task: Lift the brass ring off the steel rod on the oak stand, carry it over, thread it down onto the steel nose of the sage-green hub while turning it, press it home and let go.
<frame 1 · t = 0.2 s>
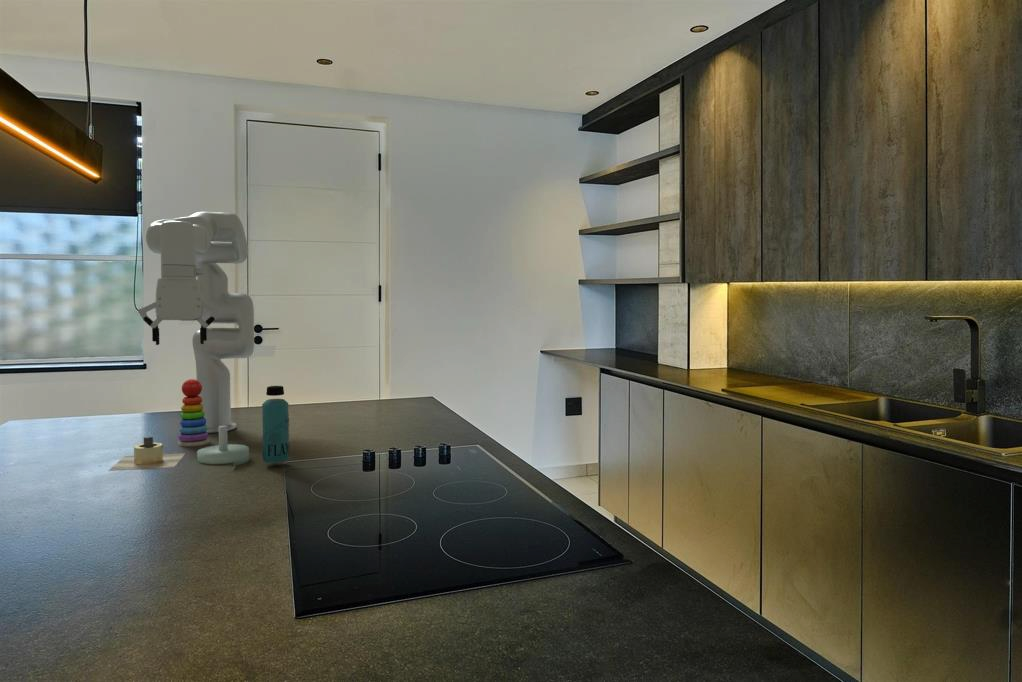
hand: (180, 344, 158), 30 cm above the table, fingers open, 9 cm apart
beverage bottle: (276, 466, 163), on the table
brass ring: (148, 461, 161), point 1 cm above the table, touching oak stand
oak stand: (148, 465, 161), on the table
sage hub: (223, 461, 166), on the table
stacking toy: (194, 447, 181), on the table
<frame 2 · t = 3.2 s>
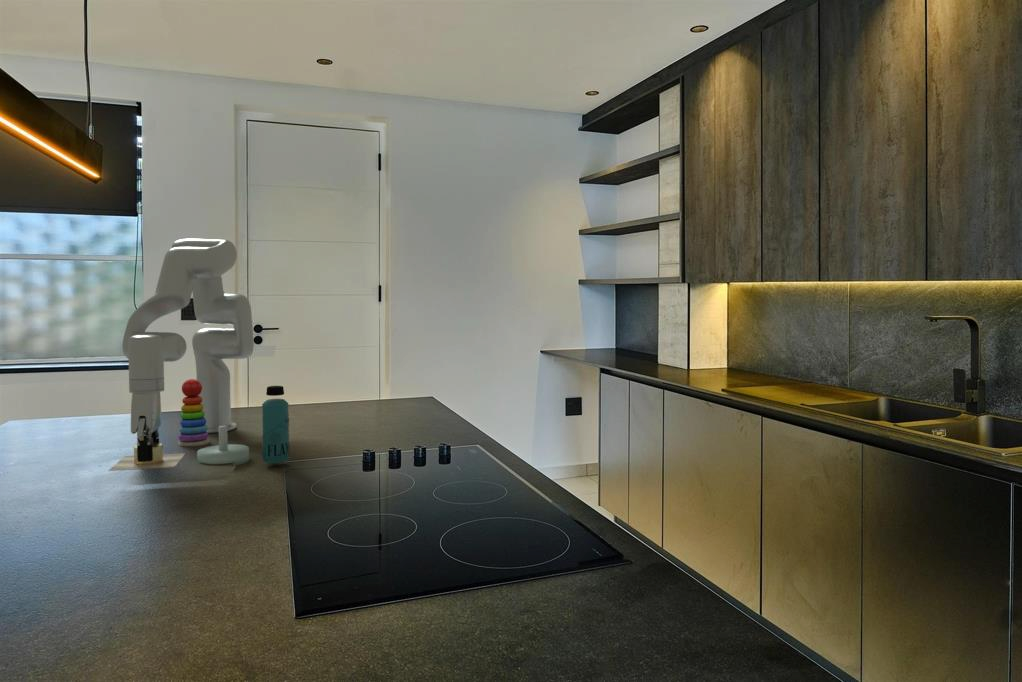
hand: (148, 457, 161), 2 cm above the table, fingers closed on brass ring, 6 cm apart
brass ring: (148, 461, 161), point 1 cm above the table, touching gripper, oak stand
everything else where it was.
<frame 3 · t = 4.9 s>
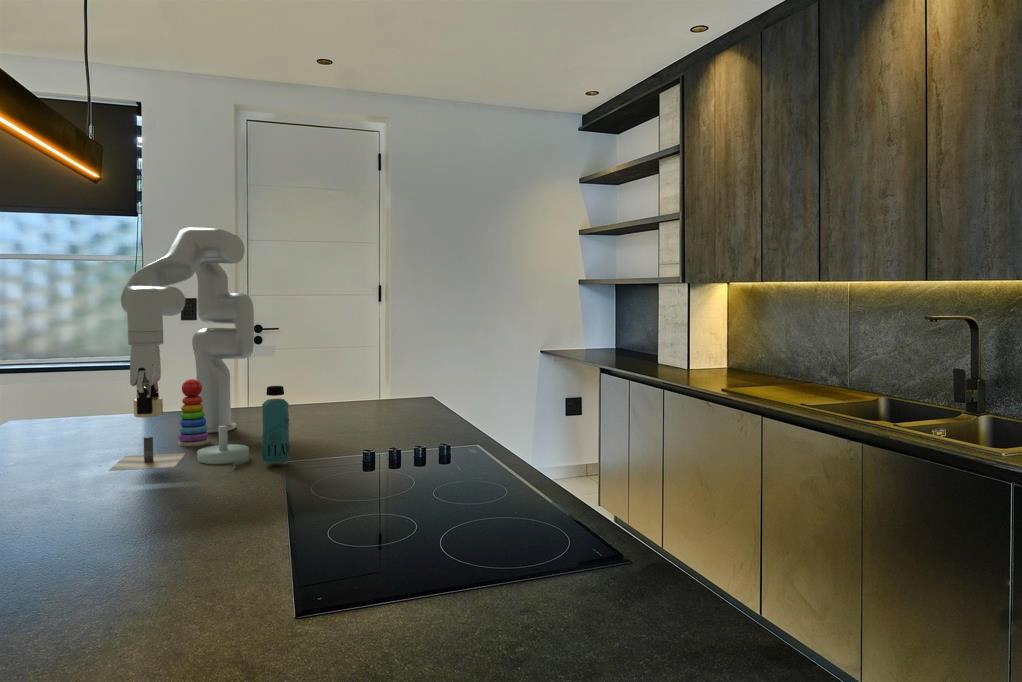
hand: (148, 410, 161), 14 cm above the table, fingers closed on brass ring, 6 cm apart
brass ring: (148, 414, 161), point 13 cm above the table, touching gripper
everything else where it was.
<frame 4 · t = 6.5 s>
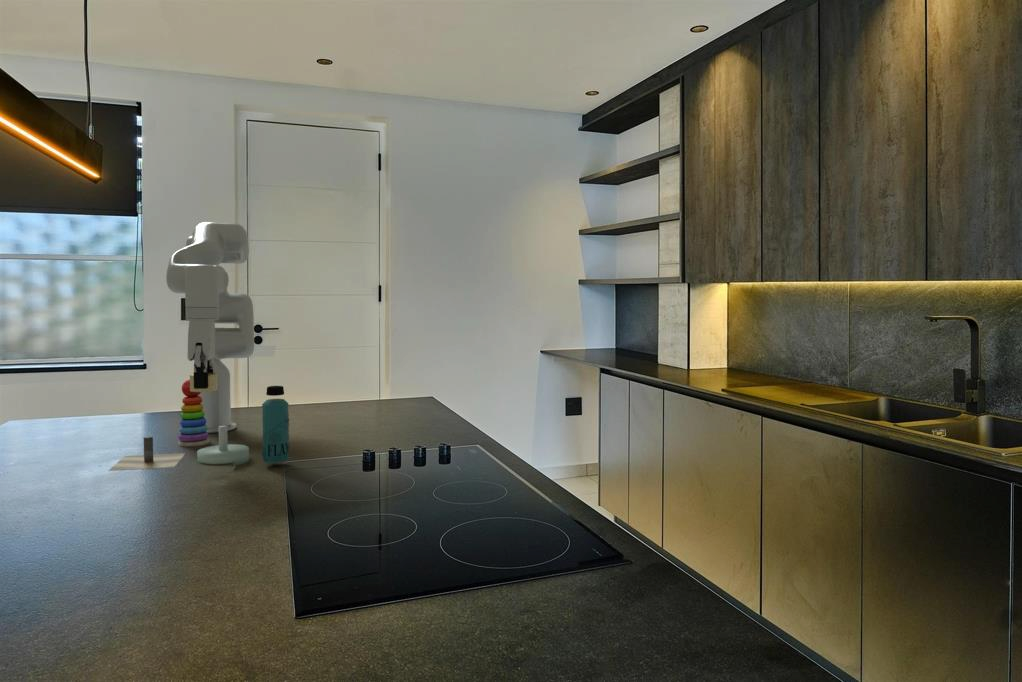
hand: (203, 385, 164), 20 cm above the table, fingers closed on brass ring, 6 cm apart
brass ring: (203, 390, 164), point 18 cm above the table, touching gripper
everything else where it was.
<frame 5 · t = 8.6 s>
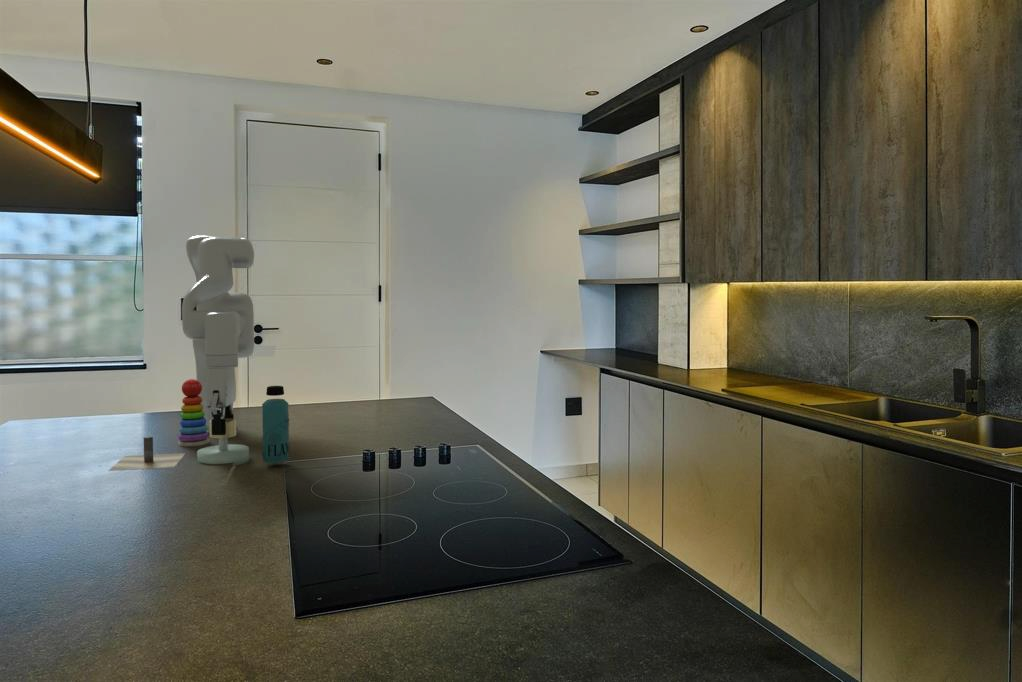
hand: (223, 431, 165), 8 cm above the table, fingers closed on brass ring, 6 cm apart
brass ring: (223, 435, 166), point 7 cm above the table, touching gripper
everything else where it was.
when the fingers open (4 cm above the table, at t = 10.1 s): brass ring stays where it is, resting on sage hub.
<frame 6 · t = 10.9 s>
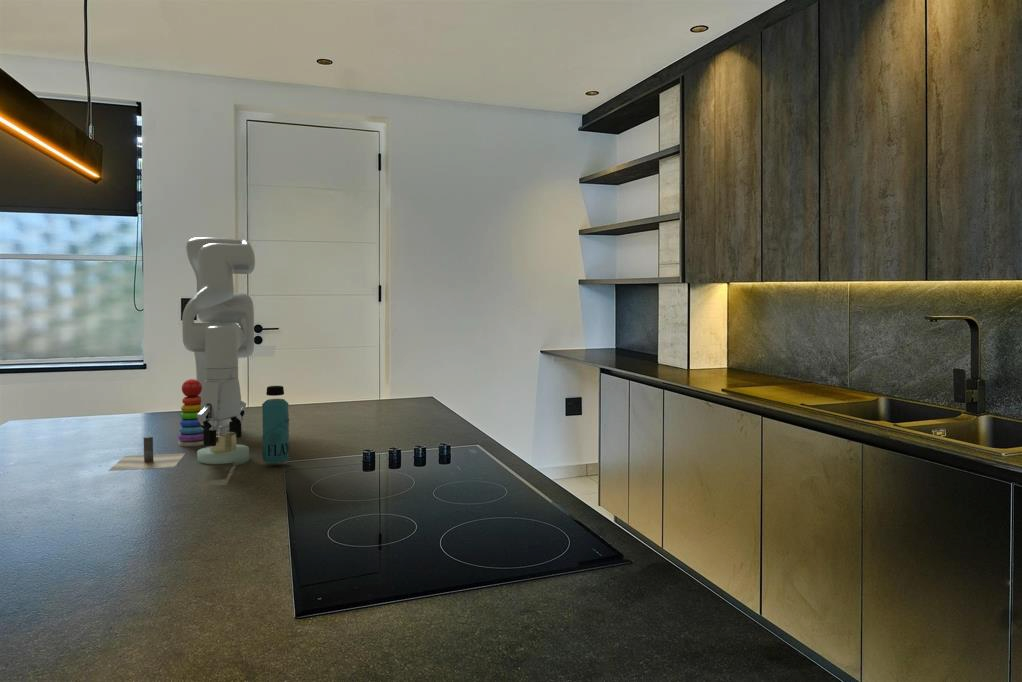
hand: (223, 441, 166), 5 cm above the table, fingers open, 9 cm apart
brass ring: (223, 449, 166), point 3 cm above the table, touching sage hub
everything else where it was.
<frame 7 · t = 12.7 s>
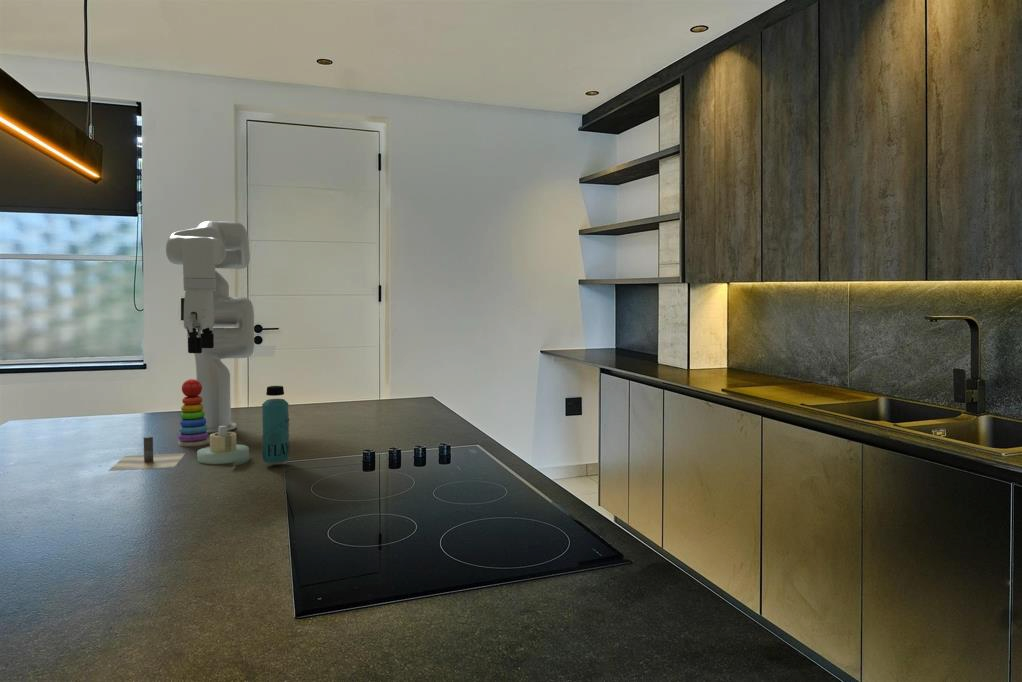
hand: (201, 350, 171), 28 cm above the table, fingers open, 9 cm apart
nothing on the table moved.
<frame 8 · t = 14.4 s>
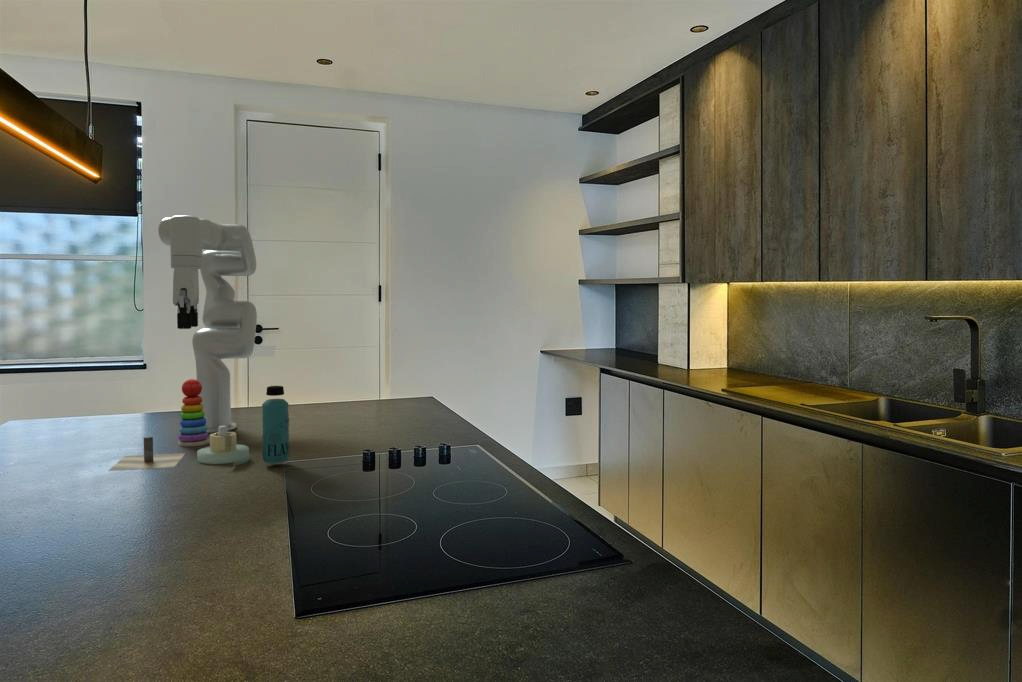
hand: (188, 327, 174), 33 cm above the table, fingers open, 9 cm apart
nothing on the table moved.
at the end: brass ring 0.1 cm off-centre on the sage hub, point 3.0 cm above the sage hub's base; brass ring tilted 0°; the gripper is holding nothing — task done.
